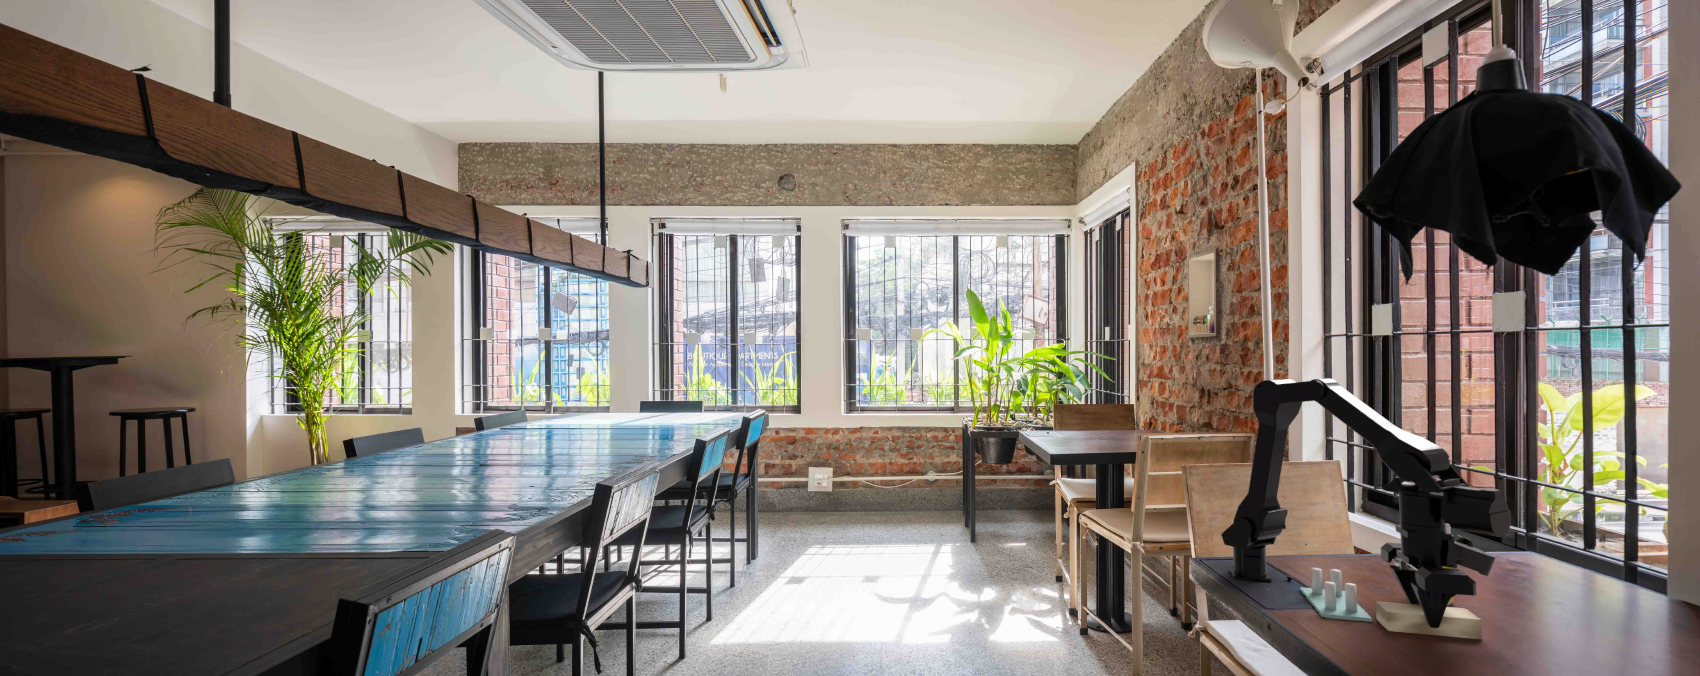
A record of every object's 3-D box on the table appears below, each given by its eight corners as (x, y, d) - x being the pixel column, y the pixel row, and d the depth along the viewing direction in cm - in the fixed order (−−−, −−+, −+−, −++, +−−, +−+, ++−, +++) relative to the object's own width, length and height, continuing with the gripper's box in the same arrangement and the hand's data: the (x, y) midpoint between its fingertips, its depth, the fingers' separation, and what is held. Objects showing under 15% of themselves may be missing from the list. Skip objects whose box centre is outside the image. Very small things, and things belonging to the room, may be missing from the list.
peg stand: (1300, 590, 131) (1299, 563, 131) (1344, 593, 128) (1343, 566, 128) (1322, 617, 118) (1321, 587, 118) (1372, 621, 115) (1371, 591, 115)
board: (1388, 630, 111) (1387, 611, 112) (1376, 619, 116) (1375, 601, 116) (1482, 639, 107) (1481, 619, 107) (1466, 627, 112) (1465, 608, 112)
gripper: (1518, 541, 101) (1523, 650, 100) (1456, 512, 118) (1461, 606, 118) (1424, 536, 104) (1428, 641, 104) (1377, 509, 122) (1381, 599, 122)
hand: (1426, 621), depth 112 cm, fingers closed on board, 5 cm apart
